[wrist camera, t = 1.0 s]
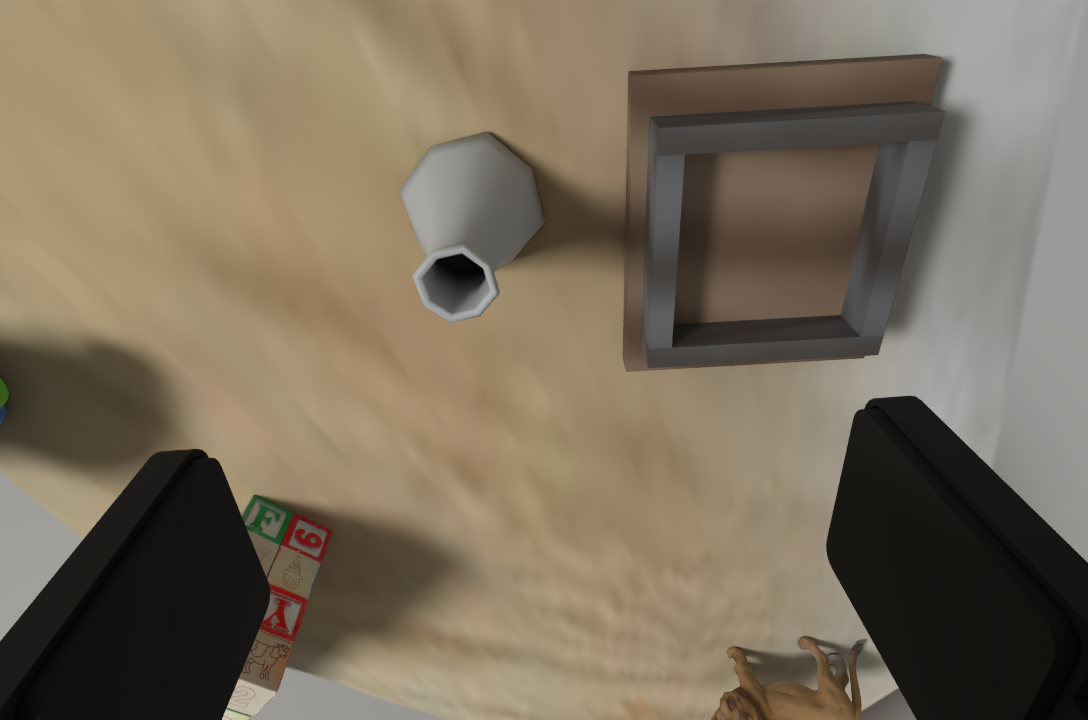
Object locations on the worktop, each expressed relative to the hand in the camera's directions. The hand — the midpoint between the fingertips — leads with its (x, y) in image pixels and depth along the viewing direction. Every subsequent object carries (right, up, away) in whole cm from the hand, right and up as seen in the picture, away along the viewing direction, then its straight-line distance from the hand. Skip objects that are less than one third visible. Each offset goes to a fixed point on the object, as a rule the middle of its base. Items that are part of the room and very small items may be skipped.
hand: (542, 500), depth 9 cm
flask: (-4, +10, +24) cm, 26 cm away
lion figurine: (+20, -24, +46) cm, 55 cm away
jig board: (+11, +9, +24) cm, 29 cm away
